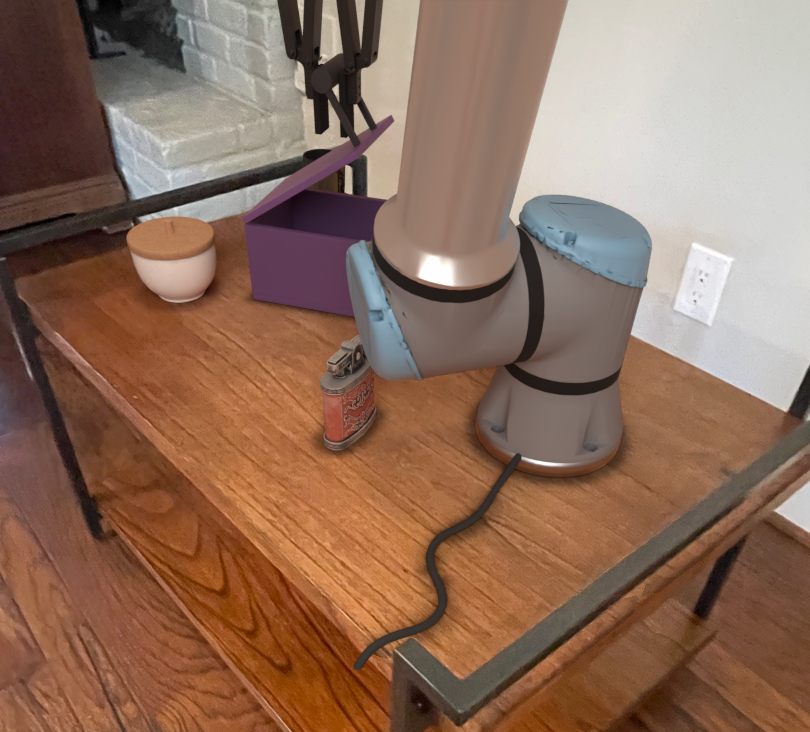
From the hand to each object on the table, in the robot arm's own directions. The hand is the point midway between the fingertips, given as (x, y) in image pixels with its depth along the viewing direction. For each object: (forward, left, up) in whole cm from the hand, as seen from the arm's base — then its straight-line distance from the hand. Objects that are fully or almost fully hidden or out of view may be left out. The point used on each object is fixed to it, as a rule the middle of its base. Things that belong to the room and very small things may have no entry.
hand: (334, 131), depth 88 cm
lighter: (-29, -12, -20) cm, 37 cm away
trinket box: (-8, +19, -20) cm, 29 cm away
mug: (+15, +7, -20) cm, 26 cm away
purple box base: (0, +1, -19) cm, 19 cm away
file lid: (0, +2, -5) cm, 5 cm away
